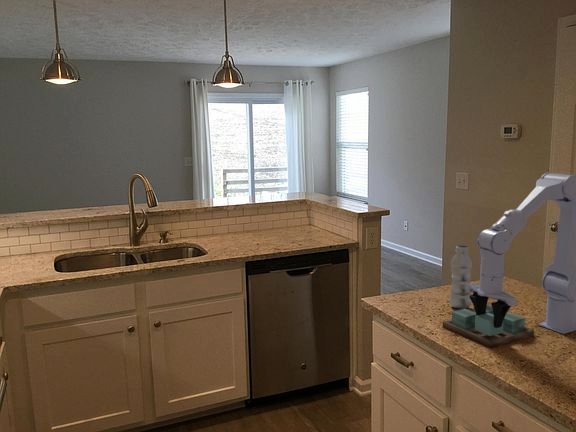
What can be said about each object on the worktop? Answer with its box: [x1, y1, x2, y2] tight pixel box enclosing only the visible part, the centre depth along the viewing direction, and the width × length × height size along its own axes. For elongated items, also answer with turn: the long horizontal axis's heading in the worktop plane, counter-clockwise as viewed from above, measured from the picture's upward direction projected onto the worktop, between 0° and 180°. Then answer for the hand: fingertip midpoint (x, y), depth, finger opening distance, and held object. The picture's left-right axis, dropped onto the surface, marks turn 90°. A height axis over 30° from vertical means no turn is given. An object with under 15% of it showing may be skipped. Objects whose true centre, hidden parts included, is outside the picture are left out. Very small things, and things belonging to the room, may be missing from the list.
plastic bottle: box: [448, 244, 473, 310], centre depth 163 cm, size 6×7×20 cm
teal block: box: [475, 313, 504, 336], centre depth 138 cm, size 5×5×4 cm
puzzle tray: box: [442, 304, 535, 349], centre depth 144 cm, size 17×17×5 cm
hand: (489, 323), depth 138 cm, fingers closed on teal block, 5 cm apart
